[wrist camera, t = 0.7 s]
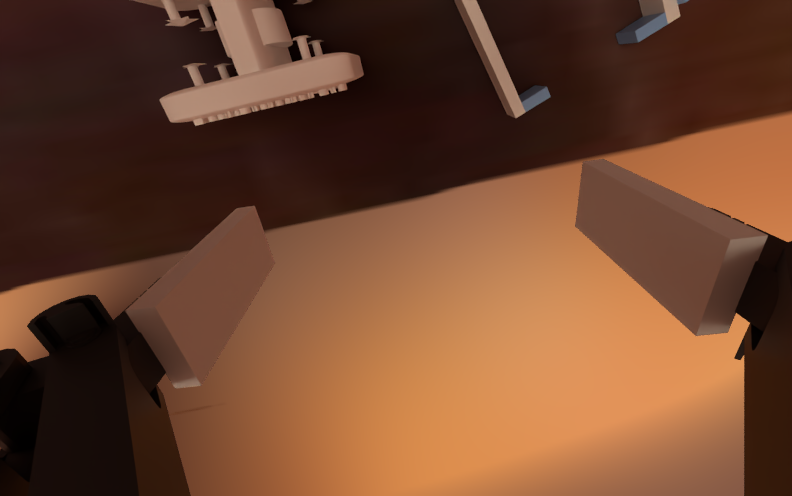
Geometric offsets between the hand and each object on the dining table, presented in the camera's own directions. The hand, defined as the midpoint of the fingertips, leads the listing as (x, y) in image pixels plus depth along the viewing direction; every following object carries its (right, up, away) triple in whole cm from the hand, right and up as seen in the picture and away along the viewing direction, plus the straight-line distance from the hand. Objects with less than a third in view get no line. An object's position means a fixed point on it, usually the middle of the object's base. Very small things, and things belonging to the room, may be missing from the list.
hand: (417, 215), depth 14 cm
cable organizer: (-12, +19, +19) cm, 29 cm away
